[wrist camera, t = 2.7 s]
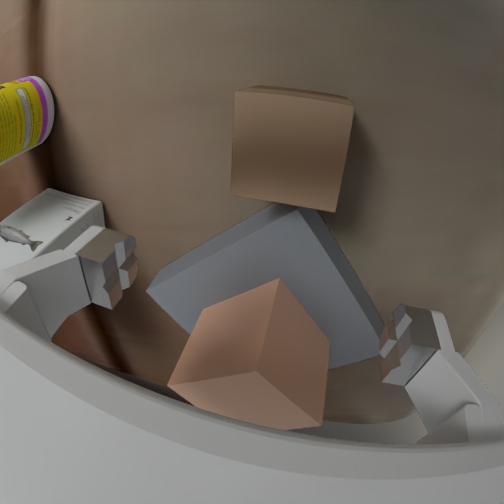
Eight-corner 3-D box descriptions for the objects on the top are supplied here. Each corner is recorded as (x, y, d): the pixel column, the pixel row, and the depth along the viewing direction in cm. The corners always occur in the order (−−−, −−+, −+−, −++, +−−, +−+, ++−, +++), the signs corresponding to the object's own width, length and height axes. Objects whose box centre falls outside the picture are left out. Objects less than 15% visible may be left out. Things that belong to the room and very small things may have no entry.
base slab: (301, 187, 18) (297, 209, 16) (384, 325, 23) (387, 352, 21) (161, 268, 25) (145, 291, 23) (255, 362, 30) (249, 386, 28)
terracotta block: (279, 277, 19) (255, 370, 13) (329, 341, 21) (321, 425, 16) (203, 309, 22) (167, 385, 17) (256, 361, 25) (236, 432, 19)
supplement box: (104, 198, 22) (-5, 298, 12) (112, 266, 27) (35, 365, 17) (48, 184, 23) (-50, 262, 13) (60, 246, 27) (-15, 326, 17)
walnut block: (258, 85, 15) (235, 91, 11) (346, 97, 15) (354, 106, 11) (253, 163, 18) (230, 195, 14) (333, 176, 17) (335, 212, 14)
